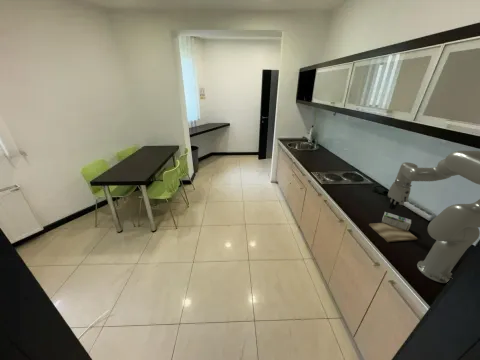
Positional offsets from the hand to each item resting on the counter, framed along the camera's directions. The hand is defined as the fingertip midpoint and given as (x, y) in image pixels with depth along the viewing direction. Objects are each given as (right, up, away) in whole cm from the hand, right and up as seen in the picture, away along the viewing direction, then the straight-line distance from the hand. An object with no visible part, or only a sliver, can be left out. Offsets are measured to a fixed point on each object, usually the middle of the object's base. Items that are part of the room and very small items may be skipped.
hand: (391, 208), depth 126 cm
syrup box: (+1, -7, +9) cm, 11 cm away
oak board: (0, -15, +1) cm, 15 cm away
